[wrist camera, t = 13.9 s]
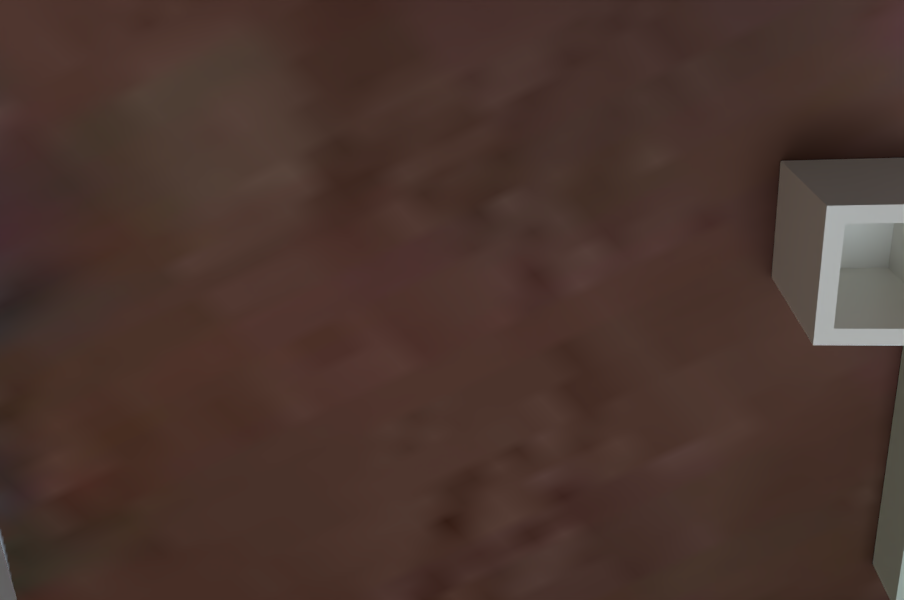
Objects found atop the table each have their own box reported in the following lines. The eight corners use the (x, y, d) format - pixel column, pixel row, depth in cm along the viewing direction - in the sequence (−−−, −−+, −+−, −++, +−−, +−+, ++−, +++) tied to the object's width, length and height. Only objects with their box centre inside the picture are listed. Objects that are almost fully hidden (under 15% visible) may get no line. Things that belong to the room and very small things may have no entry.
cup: (780, 160, 39) (827, 205, 32) (912, 157, 38) (992, 202, 31) (771, 277, 41) (812, 345, 34) (896, 276, 40) (967, 345, 33)
